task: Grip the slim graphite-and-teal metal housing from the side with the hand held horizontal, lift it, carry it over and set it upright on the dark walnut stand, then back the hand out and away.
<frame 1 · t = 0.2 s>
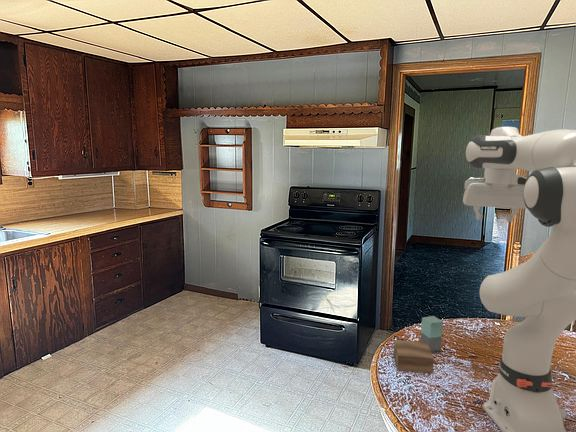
hand: (494, 220, 133), 48 cm above the table, tool pointing down, fingers open, 8 cm apart
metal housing: (430, 348, 145), on the table
walnut stand: (412, 362, 136), on the table
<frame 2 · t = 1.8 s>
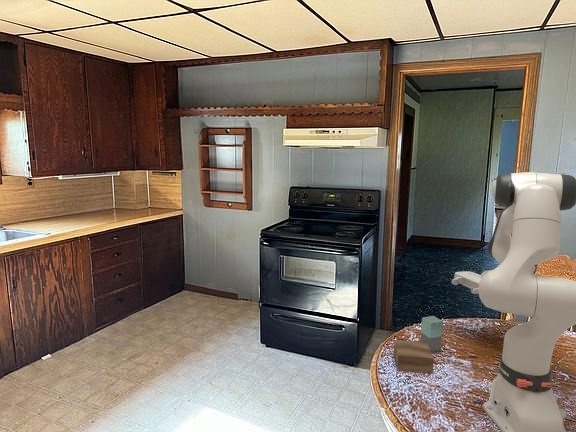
hand: (462, 286, 146), 22 cm above the table, tool horizontal, fingers open, 8 cm apart
nothing on the table moved.
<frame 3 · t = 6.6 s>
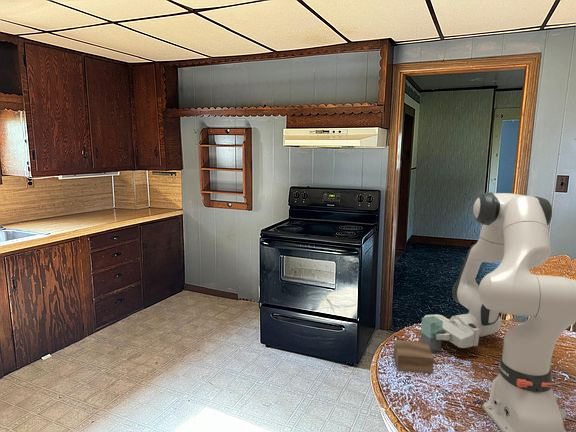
hand: (429, 332, 144), 6 cm above the table, tool horizontal, fingers closed on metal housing, 5 cm apart
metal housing: (430, 348, 145), on the table, touching gripper
everything else where it was.
when the fingers open (12 cm above the table, at t = 14.2 s): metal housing drops 1 cm, resting on walnut stand.
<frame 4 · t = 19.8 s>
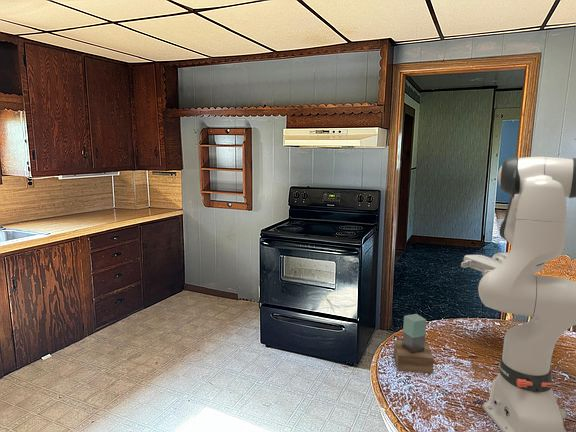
hand: (472, 269, 139), 30 cm above the table, tool horizontal, fingers open, 8 cm apart
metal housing: (413, 348, 135), point 5 cm above the table, touching walnut stand
everything else where it was.
at the end: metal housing inside the target area on the walnut stand (0.0 cm from its centre), point 5.0 cm above the walnut stand's base; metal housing tilted 0°; the gripper is holding nothing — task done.
